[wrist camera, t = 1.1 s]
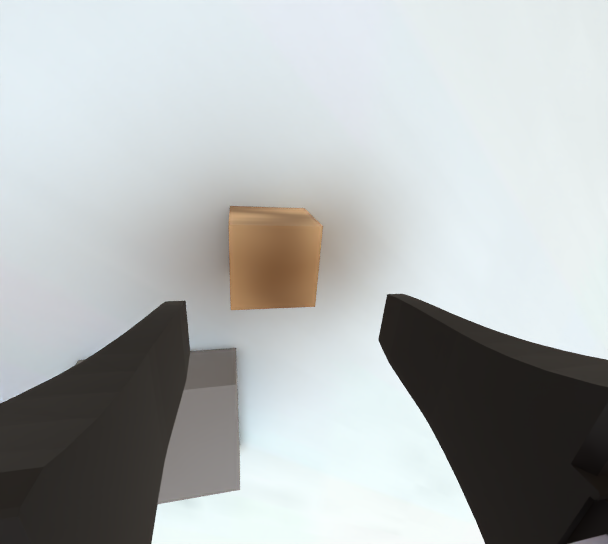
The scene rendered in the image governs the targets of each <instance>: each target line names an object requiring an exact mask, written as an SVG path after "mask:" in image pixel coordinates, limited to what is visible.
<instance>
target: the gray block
mask: <svg viewBox="0 0 608 544" xmlns="http://www.w3.org/2000/svg"><path fill="white" fill-rule="evenodd" d="M82 361H84V360H79V361H78V362H77V363H76V365H77V364H79V363H80V362H82ZM236 490H240V451H239V420H238V393H237V365H236V348H230V349H217V350H204V351H191V352H190V357H189V365H188V372H187V379H186V383H185V387H184V390H183V394H182V398H181V402H180V405H179V409H178V412H177V416H176V420H175V423H174V427H173V430H172V434H171V438H170V441H169V445H168V449H167V454H166V458H165V463H164V468H163V474H162V480H161V486H160V492H159V497H158V504H161V503H167V502H173V501H178V500H184V499H190V498H196V497H201V496H207V495H213V494H218V493H224V492H230V491H236Z"/></svg>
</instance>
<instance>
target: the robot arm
mask: <svg viewBox="0 0 608 544" xmlns="http://www.w3.org/2000/svg"><path fill="white" fill-rule="evenodd" d="M379 342H380V344H381V347H382V349H383V351H384V353H385V355H386V357H387V359H388V362H389V363H390V365H391V366H392V368H393V370H394V371H395V373H396V374H397V376H398V377H399V379H400V380H401V382H402V383H403V385H404V386H405V388H406V389H407V391H408V392H409V394H410V395H411V397H412V398H413V400H414V401H415V403H416V404H417V406H418V407H419V409H420V410H421V412H422V413H423V415H424V417H425V418H426V420H427V422H428V423H429V425H430V427H431V429H432V431H433V432H434V434H435V436H436V438H437V440H438V442H439V444H440V446H441V448H442V450H443V451H444V453H445V455H446V458H447V460H448V462H449V464H450V466H451V468H452V470H453V472H454V474H455V476H456V478H457V480H458V482H459V484H460V486H461V489H462V491H463V493H464V495H465V498H466V500H467V502H468V504H469V506H470V509H471V511H472V513H473V515H474V518H475V520H476V522H477V525H478V527H479V529H480V532H481V534H482V537H483V539H484V542H485V544H608V360H605V359H600V358H595V357H590V356H585V355H581V354H576V353H572V352H567V351H563V350H559V349H555V348H551V347H547V346H543V345H540V344H536V343H532V342H529V341H525V340H522V339H519V338H516V337H513V336H510V335H507V334H503V333H500V332H498V331H495V330H492V329H489V328H486V327H484V326H481V325H479V324H476V323H474V322H471V321H468V320H466V319H464V318H461V317H459V316H456V315H454V314H452V313H449V312H447V311H445V310H442V309H440V308H438V307H435V306H433V305H431V304H429V303H426V302H424V301H421V300H419V299H416V298H414V297H411V296H408V295H405V294H387V299H386V304H385V309H384V314H383V319H382V324H381V329H380V334H379ZM189 357H190V346H189V334H188V323H187V312H186V301H168V302H164V303H163V304H161V305H160V306H159V307H158V308H156V309H155V310H154V311H153V312H151V313H150V314H149V315H148V316H146V317H145V318H144V319H143V320H141V321H140V322H139V323H137V324H136V325H135V326H134V327H132V328H131V329H130V330H128V331H127V332H126V333H124V334H123V335H121V336H120V337H118V338H117V339H116V340H114V341H113V342H111V343H110V344H108V345H107V346H106V347H104V348H103V349H101V350H100V351H98V352H97V353H95V354H94V355H92V356H90V357H89V358H87V359H86V360H84V361H82V362H80V363H79V364H77V365H75V366H74V367H72V368H70V369H68V370H67V371H65V372H63V373H61V374H59V375H58V376H56V377H54V378H52V379H50V380H48V381H46V382H44V383H42V384H40V385H38V386H36V387H34V388H32V389H30V390H28V391H26V392H24V393H22V394H20V395H18V396H16V397H14V398H11V399H9V400H7V401H5V402H3V403H0V544H151V541H152V535H153V529H154V523H155V516H156V510H157V504H158V497H159V492H160V486H161V480H162V474H163V468H164V463H165V458H166V454H167V449H168V445H169V441H170V438H171V434H172V430H173V427H174V423H175V420H176V416H177V412H178V409H179V405H180V402H181V398H182V394H183V390H184V387H185V383H186V379H187V372H188V365H189Z"/></svg>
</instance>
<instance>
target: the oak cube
mask: <svg viewBox="0 0 608 544" xmlns="http://www.w3.org/2000/svg"><path fill="white" fill-rule="evenodd" d="M322 229H323V226H322V225H321V224H320V223H319V222H318V221H317V220H316V219H315V218H314V217H313V216H312V215H311V214H310V213H309V212H308V211H306V210H305V209H304V208H277V207H245V206H230V213H229V260H230V300H231V310H245V309H269V308H293V307H315V302H316V291H317V281H318V271H319V260H320V250H321V239H322Z"/></svg>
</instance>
